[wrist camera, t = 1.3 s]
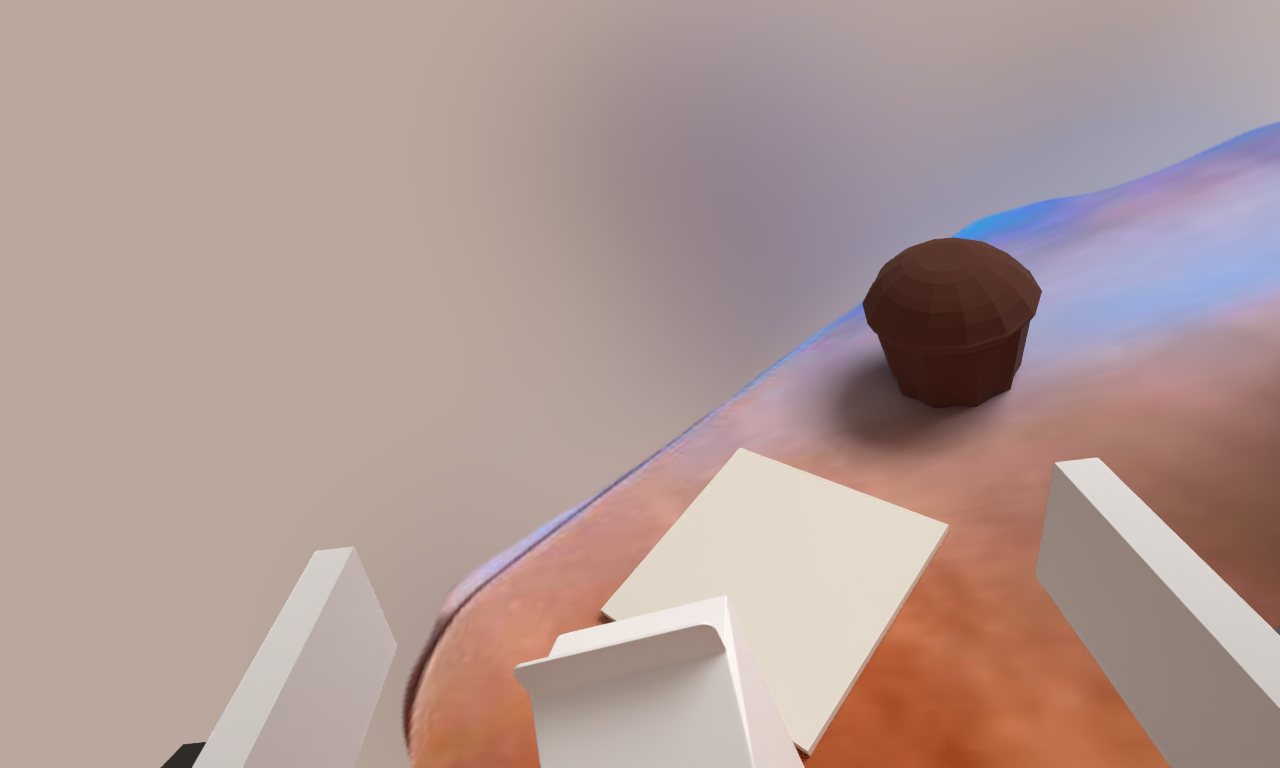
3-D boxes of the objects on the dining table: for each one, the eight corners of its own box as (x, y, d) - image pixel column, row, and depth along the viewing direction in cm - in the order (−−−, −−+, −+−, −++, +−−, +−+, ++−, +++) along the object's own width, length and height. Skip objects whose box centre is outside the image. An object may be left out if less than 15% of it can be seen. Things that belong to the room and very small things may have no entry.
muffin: (1079, 374, 49) (1085, 252, 43) (940, 446, 48) (927, 331, 43) (963, 303, 59) (956, 195, 53) (846, 362, 58) (826, 259, 52)
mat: (949, 530, 43) (948, 524, 43) (809, 756, 36) (807, 751, 36) (741, 452, 54) (739, 447, 54) (603, 614, 47) (600, 609, 47)
